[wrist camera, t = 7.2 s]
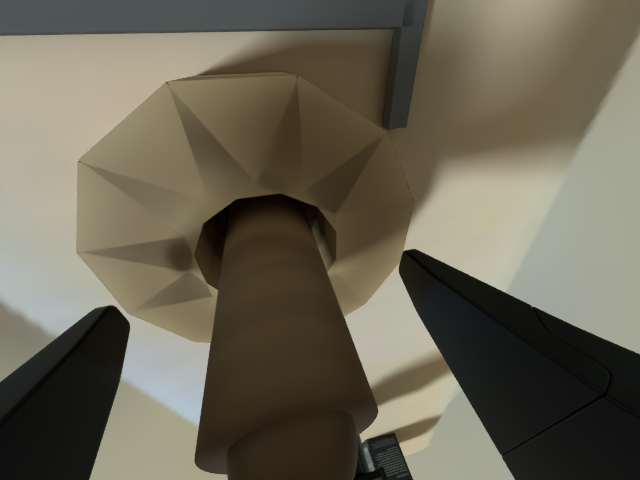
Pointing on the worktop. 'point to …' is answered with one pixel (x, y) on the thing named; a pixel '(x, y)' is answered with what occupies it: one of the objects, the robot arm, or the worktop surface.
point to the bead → (234, 191)
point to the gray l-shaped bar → (236, 25)
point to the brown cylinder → (280, 356)
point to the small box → (387, 457)
